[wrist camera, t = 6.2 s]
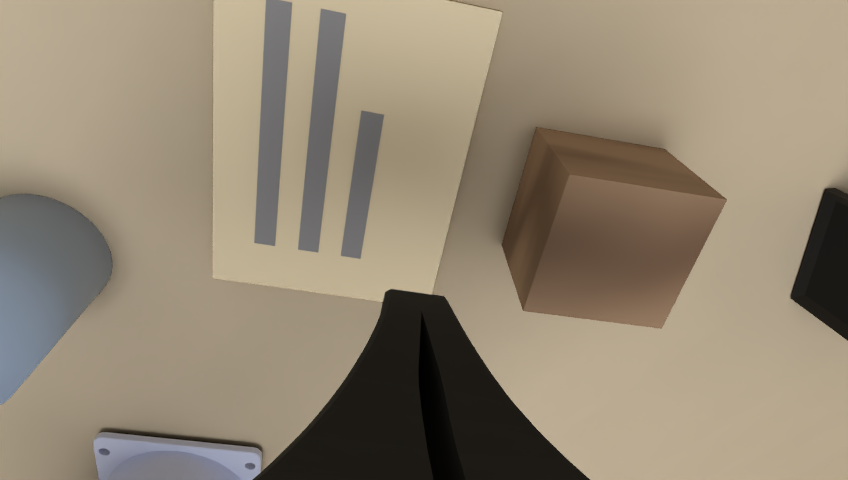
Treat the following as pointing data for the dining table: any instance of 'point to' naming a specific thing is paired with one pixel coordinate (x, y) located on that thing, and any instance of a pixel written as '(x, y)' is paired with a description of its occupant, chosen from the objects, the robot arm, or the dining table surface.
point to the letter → (342, 139)
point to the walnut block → (605, 229)
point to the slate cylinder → (43, 279)
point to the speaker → (827, 265)
